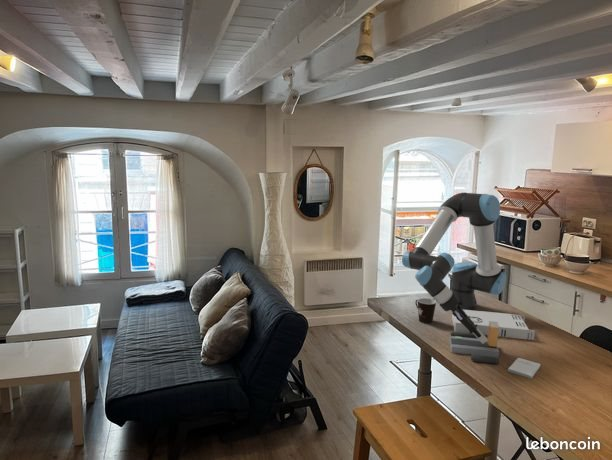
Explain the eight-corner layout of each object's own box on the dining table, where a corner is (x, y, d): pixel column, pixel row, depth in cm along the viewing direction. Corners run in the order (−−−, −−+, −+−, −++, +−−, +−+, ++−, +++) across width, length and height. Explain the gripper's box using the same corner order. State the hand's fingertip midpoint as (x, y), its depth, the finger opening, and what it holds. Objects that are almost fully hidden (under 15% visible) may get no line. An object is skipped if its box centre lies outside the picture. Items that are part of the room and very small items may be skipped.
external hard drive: (507, 372, 165) (517, 360, 174) (531, 380, 160) (540, 367, 169) (507, 368, 165) (517, 356, 174) (531, 375, 159) (540, 363, 168)
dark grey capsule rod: (470, 361, 172) (471, 356, 171) (470, 359, 174) (470, 353, 173) (499, 365, 169) (500, 359, 169) (498, 362, 172) (498, 356, 171)
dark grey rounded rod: (450, 337, 194) (450, 332, 194) (450, 335, 196) (450, 330, 196) (490, 341, 190) (490, 336, 190) (489, 339, 193) (489, 334, 192)
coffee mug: (436, 324, 209) (438, 304, 207) (418, 324, 209) (419, 304, 207) (430, 315, 220) (431, 296, 218) (413, 315, 220) (414, 296, 218)
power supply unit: (533, 341, 192) (535, 330, 192) (454, 333, 200) (455, 322, 200) (524, 325, 210) (525, 315, 210) (451, 318, 218) (452, 308, 218)
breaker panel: (451, 352, 180) (451, 346, 179) (449, 341, 190) (449, 335, 190) (498, 357, 175) (499, 351, 175) (494, 346, 186) (494, 339, 186)
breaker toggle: (488, 345, 179) (490, 324, 177) (487, 341, 183) (489, 321, 181) (496, 346, 178) (498, 325, 177) (495, 342, 182) (497, 321, 181)
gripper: (437, 299, 189) (475, 340, 188) (439, 309, 177) (480, 353, 176) (451, 288, 187) (490, 330, 186) (454, 297, 174) (495, 342, 174)
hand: (485, 341), depth 181 cm, fingers closed
